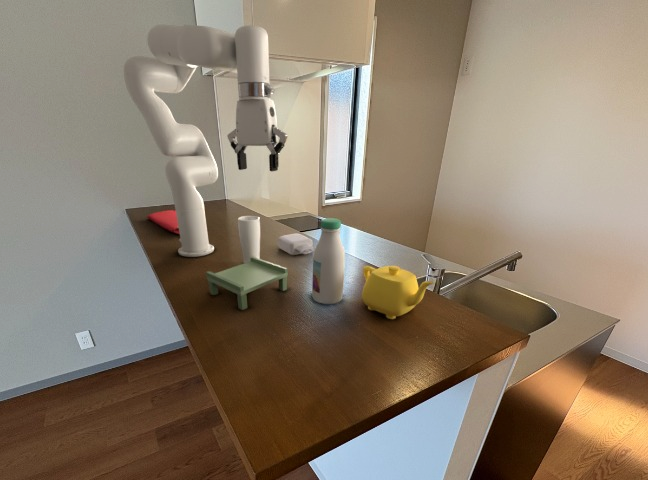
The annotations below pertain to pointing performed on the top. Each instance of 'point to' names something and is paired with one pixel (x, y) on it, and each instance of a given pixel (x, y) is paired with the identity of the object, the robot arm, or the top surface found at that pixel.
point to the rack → (248, 278)
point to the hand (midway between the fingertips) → (257, 170)
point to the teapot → (392, 290)
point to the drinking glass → (249, 237)
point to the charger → (295, 244)
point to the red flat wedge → (166, 220)
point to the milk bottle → (328, 264)
